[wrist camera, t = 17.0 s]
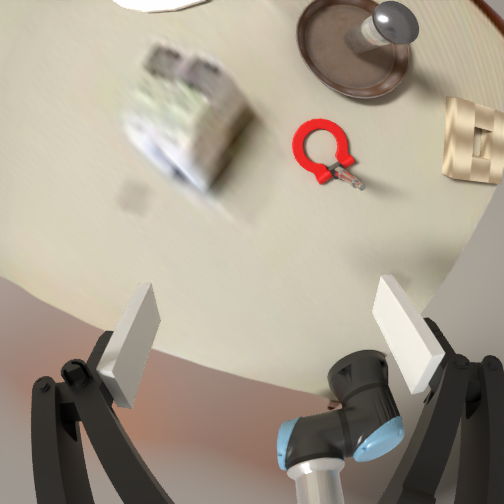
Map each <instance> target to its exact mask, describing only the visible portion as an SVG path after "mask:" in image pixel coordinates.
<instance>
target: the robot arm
mask: <svg viewBox="0 0 504 504" xmlns="http://www.w3.org/2000/svg"><path fill="white" fill-rule="evenodd" d="M372 314H373V316H374V318H375V320H376V321H377V323H378V325H379V327H380V329H381V331H382V333H383V335H384V337H385V339H386V341H387V343H388V345H389V348H390V350H391V352H392V354H393V356H394V358H395V360H396V362H397V364H398V366H399V368H400V371H401V373H402V375H403V377H404V379H405V382H406V384H407V386H408V388H409V390H410V393H411V394H416V393H420V392H424V391H425V389H426V387H427V386H428V384H429V386H430V388H431V391H430V393H429V394H428V396H427V398H426V399H425V400H424V403H425V402H426V403H425V406H424V409H423V411H422V414H421V416H420V419H419V421H418V424H417V427H416V429H415V431H414V433H413V436H412V438H411V440H410V442H409V445H408V447H407V449H406V451H405V453H404V455H403V457H402V460H401V462H400V464H399V466H398V468H397V470H396V471H395V473H394V475H393V477H392V479H391V481H390V483H389V484H388V486H387V488H386V490H385V492H384V493H383V495H382V497H381V498H380V500H379V502H378V504H435V502H436V499H435V497H434V494H435V491H436V489H437V486H438V484H439V482H440V479H441V477H442V474H443V471H444V469H445V466H446V463H447V461H448V458H449V455H450V451H451V449H452V445H453V442H454V439H455V436H456V432H457V429H458V425H459V422H460V418H461V446H460V462H459V472H458V480H457V488H456V495H455V501H454V504H504V370H503V366H502V363H501V361H500V360H499V359H498V358H496V357H495V356H492V355H488V356H486V357H484V359H483V361H482V362H481V363H475V362H470V361H469V360H468V359H467V358H466V357H465V356H463V355H461V354H456V353H455V352H454V350H453V349H452V347H451V345H450V344H449V343H448V341H447V339H446V338H445V336H443V333H442V332H441V331H440V329H439V328H438V326H437V325H436V323H435V322H433V321H432V320H431V319H430V318H422V316H421V315H420V313H419V312H418V310H417V309H416V308H415V306H414V305H413V303H412V302H411V300H410V299H409V298H408V296H407V295H406V293H405V292H404V291H403V289H402V288H401V286H400V285H399V284H398V282H397V281H396V280H395V278H394V277H393V275H381V276H380V281H379V285H378V290H377V294H376V299H375V303H374V307H373V311H372ZM160 321H161V320H160V316H159V312H158V308H157V304H156V300H155V296H154V292H153V288H152V284H151V283H139V284H138V286H137V288H136V290H135V292H134V293H133V295H132V297H131V299H130V301H129V303H128V305H127V307H126V309H125V311H124V313H123V315H122V316H121V318H120V320H119V322H118V324H117V326H116V328H115V330H114V331H105V332H104V333H103V334H102V335H101V336H100V337H99V339H98V341H97V343H96V346H95V347H94V349H93V352H92V353H91V355H90V357H89V359H88V361H87V363H85V362H84V361H83V360H81V359H74V360H70V361H68V362H67V363H65V365H64V366H63V367H62V370H61V376H62V377H63V379H64V380H65V382H62V383H55V381H54V380H53V379H52V378H51V377H49V376H43V377H41V378H39V379H38V380H37V381H36V382H35V383H34V385H33V389H32V409H31V410H32V411H31V439H32V441H31V442H32V461H33V473H34V483H35V490H36V497H37V504H95V503H94V500H93V496H92V492H91V488H90V484H89V479H88V474H87V469H86V464H85V459H84V454H83V448H82V441H81V434H80V427H79V421H82V423H83V425H84V427H85V430H86V432H87V435H88V437H89V439H90V441H91V444H92V445H93V448H94V450H95V452H96V454H97V456H98V458H99V460H100V462H101V464H102V466H103V468H104V470H105V472H106V473H107V475H108V477H109V479H110V481H111V482H112V484H113V486H114V488H115V489H116V491H117V493H118V494H119V496H120V498H121V499H122V501H123V502H124V504H175V503H174V502H173V501H172V500H171V498H170V497H169V496H168V494H167V493H166V492H165V490H164V489H163V488H162V486H161V485H160V484H159V482H158V481H157V479H156V478H155V477H154V475H153V474H152V473H151V471H150V470H149V468H148V467H147V465H146V464H145V462H144V461H143V459H142V458H141V456H140V454H139V453H138V452H137V450H136V448H135V447H134V445H133V443H132V442H131V440H130V438H129V437H128V435H127V433H126V432H125V430H124V428H123V426H122V425H121V423H120V421H119V419H118V417H117V416H116V414H115V412H114V410H113V408H112V407H111V406H112V403H113V400H114V401H115V403H116V405H117V406H118V407H123V408H129V409H132V408H133V404H134V401H135V397H136V394H137V391H138V388H139V384H140V381H141V378H142V375H143V372H144V369H145V365H146V362H147V359H148V356H149V353H150V350H151V347H152V344H153V341H154V338H155V335H156V333H157V330H158V327H159V324H160ZM328 382H329V386H330V389H331V390H332V392H333V393H334V394H335V396H336V397H337V398H338V400H339V401H340V402H341V404H342V409H338V410H334V411H330V412H325V413H321V414H316V415H312V416H307V417H299V418H297V419H293V420H288V421H285V422H284V423H283V424H282V425H281V426H280V429H279V432H278V440H277V452H278V463H279V466H280V468H281V469H282V470H287V475H288V476H289V477H290V478H292V479H293V480H295V481H296V491H297V503H298V504H344V499H343V493H342V488H341V483H340V476H339V472H340V471H341V470H342V468H343V467H344V466H345V462H344V458H348V457H352V456H353V457H354V459H355V460H356V461H357V462H363V461H369V460H372V459H375V458H377V457H380V456H382V455H384V454H385V453H387V452H389V451H390V450H391V449H393V448H394V447H396V446H397V445H398V444H399V443H400V442H401V440H402V439H403V437H404V434H405V430H404V427H403V423H402V417H401V416H400V414H399V411H398V409H397V406H396V403H395V401H394V398H393V396H392V393H391V391H390V388H389V386H388V365H387V362H386V359H385V357H384V356H383V354H381V353H380V352H377V351H373V350H365V351H359V352H356V353H353V354H350V355H348V356H346V357H344V358H342V359H341V360H339V361H338V362H337V363H336V364H335V365H334V366H333V367H332V368H331V369H330V371H329V373H328Z"/></svg>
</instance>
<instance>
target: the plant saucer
mask: <svg viewBox="0 0 504 504" xmlns="http://www.w3.org/2000/svg"><path fill="white" fill-rule="evenodd" d="M378 5H380V4H379V3H377V2H375V1H374V0H313V1H311V2H310V3H309V4H308V5H307V6H306V7H305V8H304V9H303V11H302V12H301V14H300V16H299V19H298V22H297V26H296V42H297V46H298V50H299V53H300V55H301V57H302V59H303V61H304V63H305V64H306V66H307V67H308V69H309V70H310V71H311V72H312V73H313V75H314V76H315V77H316V78H317V79H319V80H320V81H321V82H322V83H323V84H325V85H326V86H328V87H329V88H331V89H332V90H334V91H336V92H338V93H341V94H343V95H346V96H350V97H354V98H363V99H368V98H376V97H380V96H383V95H385V94H387V93H389V92H391V91H393V90H394V89H395V88H396V87H397V86H398V85H399V84H400V83H401V82H402V80H403V79H404V77H405V75H406V73H407V70H408V66H409V60H410V53H409V45H408V44H404V45H397V44H393V43H389V44H386V45H383V46H380V47H377V48H375V49H372V50H369V51H366V52H363V53H356V52H353V51H351V50H350V49H349V48H348V47H347V46H346V44H345V42H344V35H345V33H346V32H347V31H348V30H349V29H351V28H352V27H354V26H355V25H357V24H359V23H360V22H362V21H364V20H365V19H367V18H368V17H370V16H372V15H373V11H374V9H375V8H376V7H377V6H378Z"/></svg>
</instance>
